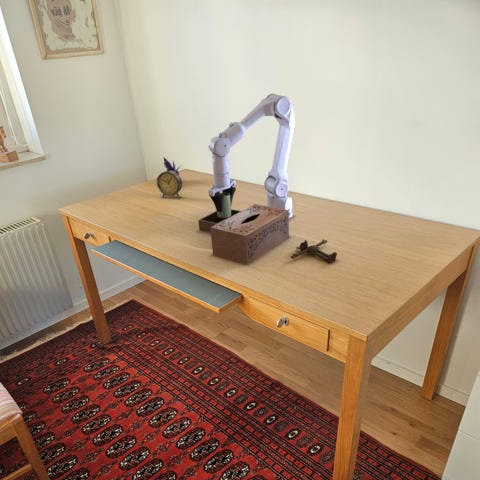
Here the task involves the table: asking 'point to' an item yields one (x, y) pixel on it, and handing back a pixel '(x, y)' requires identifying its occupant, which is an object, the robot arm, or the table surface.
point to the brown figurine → (315, 251)
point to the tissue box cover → (250, 233)
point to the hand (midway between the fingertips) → (224, 209)
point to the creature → (171, 166)
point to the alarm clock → (169, 182)
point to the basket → (212, 220)
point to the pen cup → (225, 206)
